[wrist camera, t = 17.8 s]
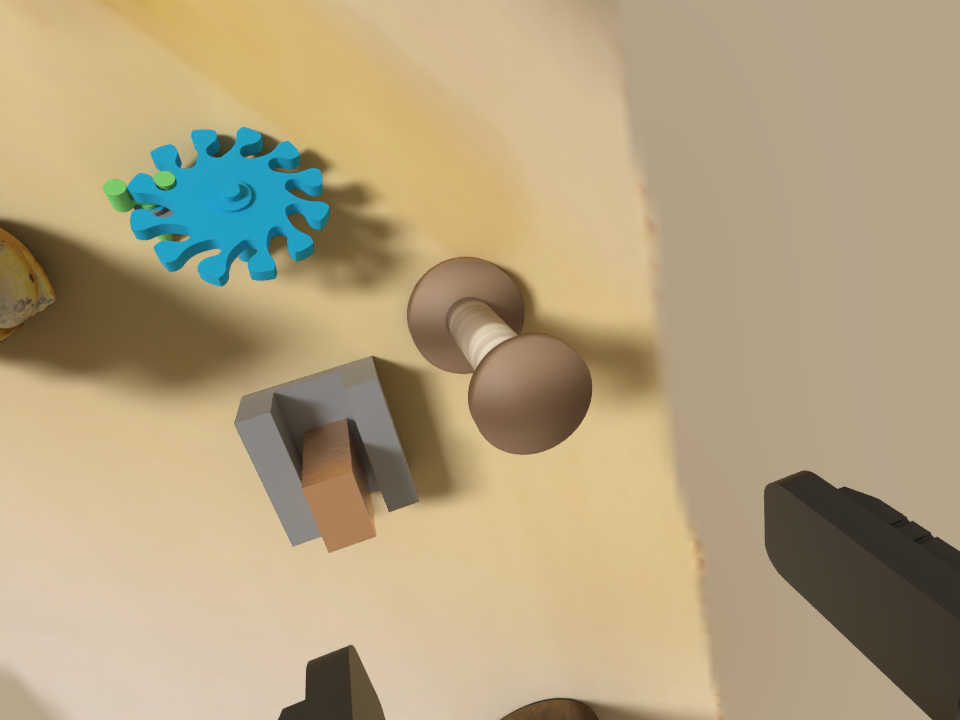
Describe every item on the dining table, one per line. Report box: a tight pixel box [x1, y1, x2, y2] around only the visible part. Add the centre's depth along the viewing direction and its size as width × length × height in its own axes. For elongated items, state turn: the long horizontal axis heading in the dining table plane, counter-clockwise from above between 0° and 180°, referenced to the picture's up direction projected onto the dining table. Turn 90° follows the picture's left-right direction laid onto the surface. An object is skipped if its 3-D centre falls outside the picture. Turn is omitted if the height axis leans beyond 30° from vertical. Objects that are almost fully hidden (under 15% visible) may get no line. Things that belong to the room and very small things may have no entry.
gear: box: [103, 127, 330, 287], centre depth 32 cm, size 11×6×10 cm
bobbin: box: [407, 257, 592, 455], centre depth 33 cm, size 8×8×14 cm
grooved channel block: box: [234, 356, 419, 546], centre depth 39 cm, size 10×9×4 cm
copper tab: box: [302, 418, 376, 553], centre depth 37 cm, size 5×3×7 cm, turn 12°
